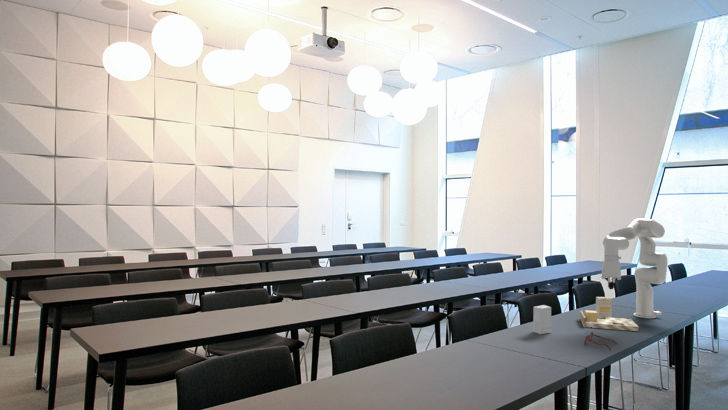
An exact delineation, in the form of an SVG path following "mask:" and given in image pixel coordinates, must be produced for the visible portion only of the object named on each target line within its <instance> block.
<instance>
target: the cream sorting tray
mask: <svg viewBox="0 0 728 410" xmlns="http://www.w3.org/2000/svg"><path fill="white" fill-rule="evenodd" d="M579 320H580V322H581V324H582V326H583V328H591V327H592V329H593V328H594V329H607V330H619V331H631V332H632V331H634V332H639V329H640V327H639V325H638V324H637V323H636V322H635V321H634V320H633V319H632V318H623V317H621V318H620V317H612V318H610V317H597V321H587V320H586V317H585V314H584V312H583V310H579Z"/></svg>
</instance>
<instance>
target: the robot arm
mask: <svg viewBox="0 0 728 410" xmlns="http://www.w3.org/2000/svg"><path fill="white" fill-rule="evenodd" d="M665 232H666V231H665V227H664V226H663V225H662V224H661V223H659V222H657V221H656V220H655V219H651V218H634V219H633V220H631V221H630V222H629V223H628V224H627V225H626V226H625V227H622V228H619V229H616V230H613V231H611V232H610V233H608V234H607V235H606V236H605V237H604V238H603V241H602V245H603V247H604V251H603V252H604V253H603V254H604V255H603V256H604V257H603V258H604V259H603V260H602V262H601V263H602V264H601V276H600V278H601V279H603V280H605V281H607V283H608V284H607V288H608V289H609V290H614V288H615V283H616V282H617V281H619V280H622V271H621V270H622V269H621V262H620V261H619V260H621V259H622V256H619V251H624V250H626V249H628V248H629V246H630V240H634V239H635V238H636V237H637V238H638V240H639V243H640V249H639V256H638V257H639V259H638V260H639V261H638V262H639V264H640V265H642V266H646V267H638V268H636V269H635V271H634V278H635V285H636V287H635V289H636V291H635V292H636V295H635V298H636V299H635V301H636V303H635V305H636V306H635V307H636V308H635V310H636V311H635V312H634V313H633V316H634V317H637V318H642V319H655V318H657V316H656V315H658V316H661V315H662V311H658V310H657V311H655V310H654V289H653V286H652V285H653V284H654V285H663V284H665V283H666V279H667V271H668V256H667V254H666V253H664V252H658V251H656V246H657V245H656V242H655V240H654V239H660V238H663V237H664V235H665ZM653 238H654V239H653ZM649 267H650V268H649ZM651 267H653V268H651Z"/></svg>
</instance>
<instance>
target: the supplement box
mask: <svg viewBox="0 0 728 410" xmlns="http://www.w3.org/2000/svg"><path fill="white" fill-rule="evenodd" d="M612 301H613V300H612V297H610V296H595V311H596V312H597V317H610V318H613V317H612V316H613V314H612V313H613V312H612V309H613V308H612Z"/></svg>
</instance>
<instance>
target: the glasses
mask: <svg viewBox="0 0 728 410" xmlns="http://www.w3.org/2000/svg"><path fill="white" fill-rule="evenodd" d="M593 337H596V338H600V339H602V340H605V341H607V340H608V341H611V342H612V343H614V344H615V345H618V343H617V342H616V341H615V340H614V339H612V338H605V337H602V336H600V335H597V334H594V333H593V332H590V334H589V335H586V336H585V340H584V345H587V343H588V342H591V343H593V344H596V345H599V346H605V347H607V349H609V350H610V349H612V348H611V347H610V346H609V345H608V344H607V343H599V342H596V341H594V340H593Z"/></svg>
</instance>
